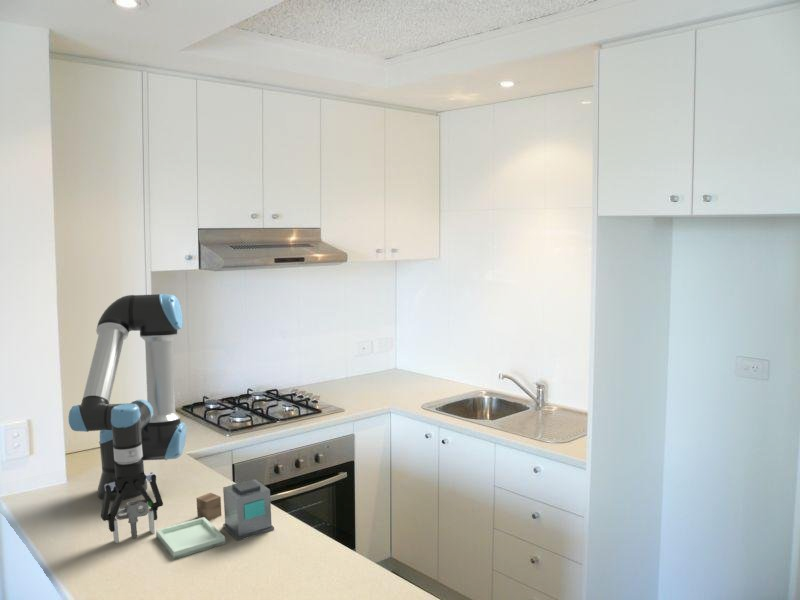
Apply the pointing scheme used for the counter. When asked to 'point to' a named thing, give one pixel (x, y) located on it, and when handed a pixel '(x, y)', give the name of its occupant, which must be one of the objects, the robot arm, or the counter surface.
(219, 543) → the tray
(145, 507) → the mechanical component
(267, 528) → the unit
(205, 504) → the walnut block
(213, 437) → the counter surface
